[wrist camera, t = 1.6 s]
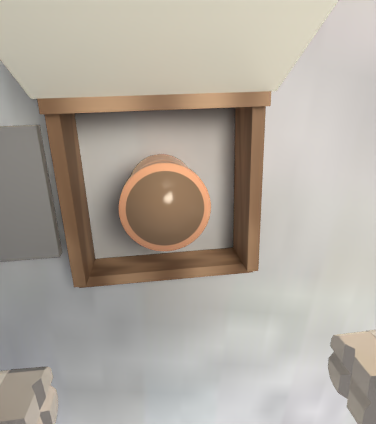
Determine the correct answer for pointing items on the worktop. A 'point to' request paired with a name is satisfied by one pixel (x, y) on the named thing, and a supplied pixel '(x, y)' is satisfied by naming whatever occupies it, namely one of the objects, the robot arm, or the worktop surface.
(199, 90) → the cold frame lid
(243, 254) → the frame
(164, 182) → the terracotta pot
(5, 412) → the robot arm
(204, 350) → the worktop surface
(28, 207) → the slate tile
